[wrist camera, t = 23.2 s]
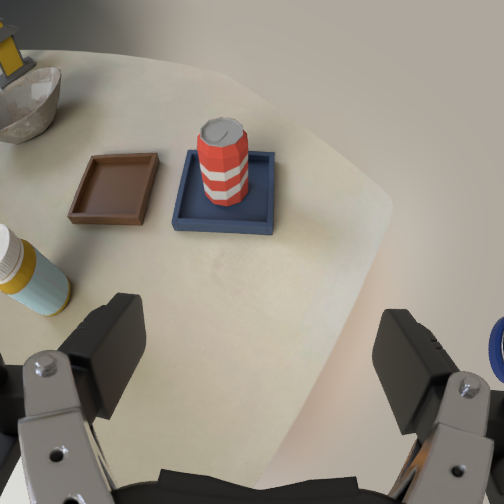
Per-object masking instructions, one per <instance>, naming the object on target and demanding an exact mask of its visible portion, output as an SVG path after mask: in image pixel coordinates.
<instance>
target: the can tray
mask: <svg viewBox="0 0 504 504" xmlns="http://www.w3.org/2000/svg"><path fill="white" fill-rule="evenodd" d="M274 155H275V153H274V152H256V151H248V193H247V194H246V196H245V197H244V198H243V200H242V201H241V202H239V203H236V204H233V205H230V206H222V205H217V204H213V202H212V201H211V200H210V199H209V198H208V197H207V196H206V195H205V190H204V184H203V179H202V173H201V167H200V162H199V156H198V150H188V152H187V156H186V160H185V164H184V168H183V172H182V177H181V181H180V185H179V190H178V194H177V199H176V203H175V208H174V213H173V218H172V225H173V228H174V230H177V231H199V232H221V233H241V234H260V235H272V231H273V207H274Z"/></svg>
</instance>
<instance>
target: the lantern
mask: <svg viewBox="0 0 504 504" xmlns="http://www.w3.org/2000/svg"><path fill="white" fill-rule="evenodd" d="M3 20H4V19H3V18H0V68H1V70H2V72H3V74H2V75H1V76H0V87H1V89H4V88H6V87H7V86H8V85H10V84H11V83H12V82H14V81H15V80H16V79H18V78H19V77H21V76H22V75H23V74H25V73H26V72H28V71H29V70H31V69H32V68H34V67H35V66H36V64H35V62H34V61H33V60H32V59H31V58H30V57H26V58H24V59H23V58H22V55H21V53H20V51H19V48H18V46H17V44H16V41H15V39H14V36H13V34H14V33H16V32H17V31H19V30H20V28H18V27H17V26H13V25H5V24H4V23H3Z"/></svg>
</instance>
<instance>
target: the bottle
mask: <svg viewBox="0 0 504 504" xmlns="http://www.w3.org/2000/svg"><path fill="white" fill-rule="evenodd" d="M0 290H1V291H2V292H4V293H5V294H7V295H9V296H10V297H12V298H14V299H15V300H17V301H19V302H20V303H22V304H24V305H26V306H27V307H29V308H31V309H33V310H34V311H36V312H38V313H40V314H42V315H44V316H54V315H56V314H58V313H59V312H61V311H62V310H63V309H64V307H65V306H66V304H67V302H68V300H69V297H70V291H71V288H70V282H69V280H68V278H67V276H66V275H65V274H64V273H63V272H62V271H61V270H59V269H58V268H57V267H56V266H55V265H54V264H52V263H51V262H50V261H49V260H48V259H47V258H46V257H45V256H43V255H42V254H41V253H40V252H39V251H38V250H37V249H36V248H35V247H33V246H32V245H31V244H30V243H29V242H27V241H25V240H23V239H19V238H18V237H17V236H16V235H15V234H14V233H13V232H12V231H11V230H10V229H9V228H8V227H7V226H5V225H3V224H0Z"/></svg>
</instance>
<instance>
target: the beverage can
mask: <svg viewBox="0 0 504 504" xmlns="http://www.w3.org/2000/svg"><path fill="white" fill-rule="evenodd" d="M197 150H198V156H199V162H200V167H201V173H202V179H203V184H204V190H205V195H206V196H207V197H208V198H209V199H210V200H211V201H212V202H213V204H217V205H222V206H230V205H233V204H236V203H239V202H241V201H242V200H243V198H244V197H245V196H246V194H247V193H248V139H247V133H246V132H245V131H244V130H243V126H242V125H241V124H240V123H239V122H237V121H236V120H235V119H232V118H224V117H220V118H216V119H213V120H209V121H208V122H207V123H206V124H204V125H203V126H202V127H201V130H200V134H199V136H198V139H197Z"/></svg>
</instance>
